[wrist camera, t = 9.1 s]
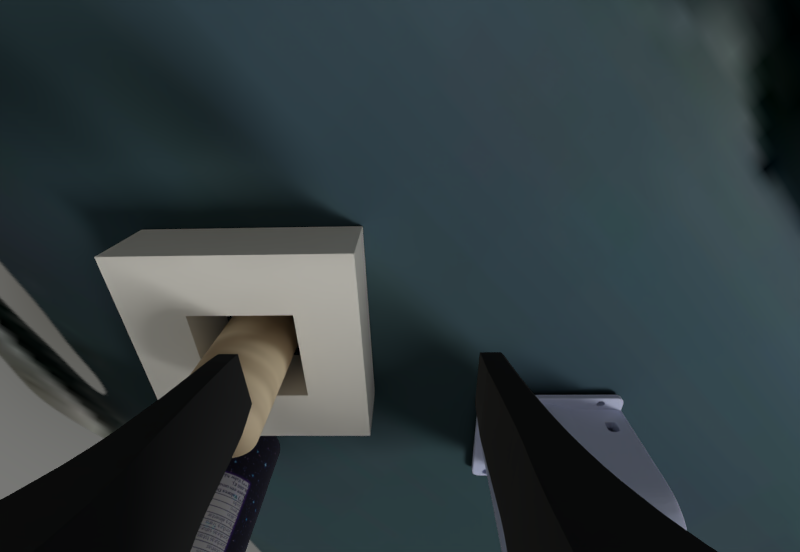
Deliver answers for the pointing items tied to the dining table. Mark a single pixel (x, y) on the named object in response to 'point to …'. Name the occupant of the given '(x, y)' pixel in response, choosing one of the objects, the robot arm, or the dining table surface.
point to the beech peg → (257, 364)
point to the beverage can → (238, 500)
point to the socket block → (254, 312)
